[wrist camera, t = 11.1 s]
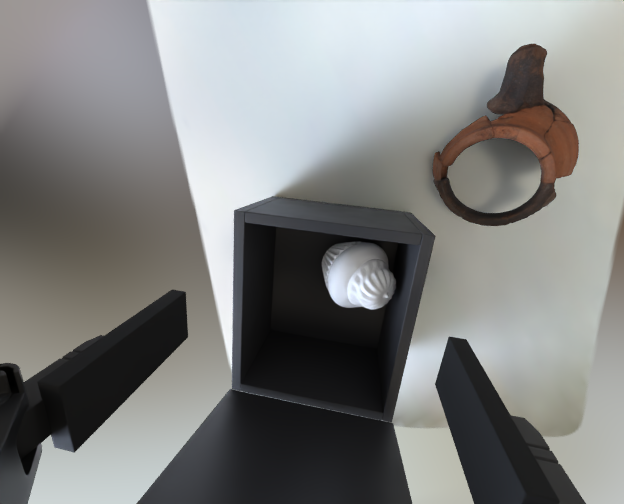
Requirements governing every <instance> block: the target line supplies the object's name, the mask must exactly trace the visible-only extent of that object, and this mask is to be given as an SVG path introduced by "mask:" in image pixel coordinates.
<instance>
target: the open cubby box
mask: <svg viewBox="0 0 624 504" xmlns="http://www.w3.org/2000/svg"><path fill="white" fill-rule="evenodd" d="M434 240H435V235H434V234H433V233H432V232H431V231H430V230H429V229H427V228H426V227H425V226H424V225H423V224H422V223H421V222H420V221H419V220H418V219H417V218H416V217H415V216H414V215H413V214H412V213H408V212H400V211H391V210H383V209H375V208H366V207H358V206H349V205H341V204H332V203H324V202H315V201H307V200H299V199H290V198H282V197H270V198H267V199H264V200H262V201H259V202H256V203H253V204H251V205H248V206H245V207H242V208H239V209H237V210H234V268H233V346H232V389H234V390H238V391H243V392H248V393H252V394H257V395H262V396H267V397H272V398H276V399H281V400H286V401H291V402H296V403H300V404H305V405H310V406H315V407H320V408H324V409H329V410H334V411H339V412H344V413H348V414H353V415H358V416H363V417H368V418H372V419H377V420H383V421H387V422H392V419H393V415H394V411H395V406H396V402H397V398H398V393H399V389H400V385H401V381H402V376H403V372H404V368H405V364H406V359H407V355H408V351H409V346H410V342H411V338H412V334H413V329H414V325H415V321H416V317H417V312H418V308H419V304H420V299H421V295H422V291H423V287H424V282H425V278H426V274H427V269H428V265H429V261H430V257H431V252H432V248H433V244H434ZM359 241H361V242H365V243H373V244H376V245H378V246H379V247H381V248H382V249H383V250H384V252H385V253H386V255H387V258H388V267H389V270H390V272H392V273H393V276H394V278H395V279H396V284H395V285H396V289H395V290H394V292H395V293H394V294H393V295H392V299H390V300H389V302H388V303H387V304H385V305H384V306H383V307H381V308H378V309H368V308H365V307H354V308H346V307H342V306H340V305H338V304H337V303H335V302H334V300H333V299H332V298H331V296H330V294H329V291H328V288H326V283H325V279H324V274H323V270H322V259H323V256H324V255H325V253H326V251H327V250H329V248H330V247H332V246H334V245H335V244H338V243H347V242H359Z"/></svg>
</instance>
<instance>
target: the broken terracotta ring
mask: <svg viewBox="0 0 624 504" xmlns="http://www.w3.org/2000/svg"><path fill="white" fill-rule="evenodd" d="M546 55H547V51H546V49H544V48H542V47H541V46H539V45H536V44H528V45H524V46H521V47H520V48H519V49H518V50H516V51H515V52H514V53H513V54H512V55H511V56H510V58H509V60H508V63H507V67H506V72H505V76H504V79H503V82H502V86H501V89H500V92H499V93H498V94H497V95H496V96H495V97H494V98H492V99H491V100H490V101H489V102H488V103H487V107H488V109H489V110H490V111H491V112H493V113H495V114H504V115H502V116H500V117H499V118H497V119H495V120H493V121H490V120H489V119H488V117H487V116H483V117H481V118H479V119H478V120H476V121H475V122H473V123H471V124H470V125H469V126H468V127H466V128H464V129H463V130H462V131H460V132H459V133H458V134H457V135H456V136H455V137H454V138H453V139H452V140H451V141H450V142H449V143H448V144H447V145H446V146H445V148H444V149H443V151H442V153H441V155H440V152H439V151H438V152H436V153H435V154H434V159H433V176H434V184H435V186H436V188H437V190H438V191H439V194H440V196H441V198H442V199H443V201H444V203H445V205H446V206H447V207H448V208H449V209H450V210H451V211H452V212H453V213H454V214H456V215H457V216H460V217H462V218H463V219H464V220H467V221H469V222H471V223H475V224H479V225H485V226H499V225H507V224H509V223H514V222H516V221H519V220H521V219H524V218H527V217H528V216H530V215H532V214H534V213H535V212H537V211H539V210H540V209H541V208H542V207H545V206H547V205H548V204H549V203H550V202H551V201H553V200H554V199H555V197H556V192H555V189H554V182H555V180H556V178H561V177H565V176H569V175H571V174H572V172H573V169H574V167H575V165H576V162H577V159H578V151H579V146H578V145H579V141H578V136H577V132H576V129H575V127H574V125H573V124H571V122H570V120H569V119H568V118H567V116H566V115H565V114H564V113H563V112H562V111H561V110H560V109H559V108H557V107H556V106H554V105H553V104H551V103H549V102H547V101H546V100H544V99H543V82H544V75H543V67H544V62H545V58H546ZM492 138H505V139H510V140H514V141H517V142H519V143H521V144H523V145H525V146H527V147H528V148H529V149H531V150H532V151H533V152H534V154H535V155H536V157H537V158H538V160H539V163H540V166H541V183H540V185H539V188H538V190H537V191H536V193H535V194H534V195H533V196H532V198H531V199H529V200H528V201H527V202H526V203H525V204H523V205H521V206H520V207H518V208H516V209H513V210H511V211H507V212H503V213H483V212H479V211H475V210H473V209H471V208H469V207H467V206H465V205H464V204H463V203H462V202H460V201H459V200H458V199H457V198H456V196H455V195H454V193H453V191H452V189H451V186H450V182H449V179H448V178H447V170H448V166H451V165H452V164H453V163H454V161H455V160H456V158H457V157H458V156H459V155H460V154H461V153H462V152H463V151H464V150H465V149H466V148H468V147H470V146H472V145H473V144H475V143H478V142H480V141H484V140H488V139H492Z"/></svg>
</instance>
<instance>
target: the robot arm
mask: <svg viewBox="0 0 624 504" xmlns="http://www.w3.org/2000/svg"><path fill="white" fill-rule="evenodd" d="M187 337H188V330H187V311H186V292H183V291H176V290H171V291H169V292H168V293H166V294H165V295H163V296H162V297H161V298H159V299H158V300H156V301H155V302H153V303H152V304H150V305H149V306H147V307H146V308H144V309H143V310H142V311H140V312H139V313H137V314H136V315H135V316H133V317H131V318H130V319H128V320H127V321H125V322H124V323H122V324H121V325H119V326H118V327H117V328H115V329H114V330H112V331H111V332H109V333H108V334H107V335H105V336H102V335H100V336H98V337H96V338H93V339H91V340H89V341H86V342H84V343H83V344H81V345H80V346H78V347H77V348H75V349H74V350H73V351H72V352H69V353H68V354H66V355H65V356H63V358H62V359H59V360H57V361H56V362H54V363H53V364H51V365H49V366H48V367H46V368H45V369H44V370H42V371H40V372H39V373H37V374H36V375H34V376H33V377H31V378H30V379H28V380H27V381H25V382H23V379H22V375H21V372H20V368H19V367H18V366H17V365H16V364H11V363H4V364H0V504H28V500H29V497H30V493H31V489H32V486H33V482H34V478H35V474H36V471H37V468H38V464H39V460H40V457H41V453H42V445H41V442H43V441H44V440H45V439H46V438H47V437H48V436H49V435H51V436H52V440H53V443H54V447H56V448H60V449H63V450H67V451H71V452H75V451H76V450H77V449H78V448H79V447H80V446H81V445H82V444H83V443H84V442H85V441H86V440H87V439H88V438H89V437H90V436H91V435H92V434H93V433H94V432H95V431H96V430H97V429H98V428H99V427H100V426H101V425H102V424H103V423H104V422H105V421H106V420H107V419H108V418H109V417H110V416H111V415H112V414H113V413H114V412H115V411H116V410H117V409H118V407H119V406H120V405H122V404H123V403H124V402H125V400H127V398H128V397H129V396H130V395H131V394H132V393H133V392H134V391H135V390H136V389H137V388H138V387H139V386H140V385H141V384H142V383H143V382H144V381H145V380H146V379H147V378H148V377H149V376H150V375H151V374H152V373H153V372H154V371H155V370H156V369H157V368H158V367H159V366H160V365H161V364H162V363H163V362H164V361H165V360H166V359H167V358H168V357H169V356H170V355H171V354H172V353H173V352H174V351H175V350H176V349H177V348H178V347H179V346H180V345H181V344H182V342H183V341H184V340H186V338H187ZM435 385H436V388H437V391H438V394H439V397H440V400H441V403H442V406H443V409H444V413H445V416H446V419H447V422H448V425H449V428H450V431H451V434H452V437H453V440H454V443H455V446H456V449H457V452H458V455H459V459H460V462H461V465H462V468H463V471H464V474H465V477H466V480H467V483H468V486H469V489H470V492H471V495H472V498H473V501H474V504H586V503H585V502H584V500H583V499H582V497H581V496H580V494H579V492H578V491H577V489H576V488H575V487H574V485H573V484H572V482H571V480H570V479H569V477H568V476H567V474H566V473H565V471H564V469H563V468H562V466H561V465H560V464H558V460H557V459H556V457H555V456H554V454H553V453H552V451H550V450H549V446H548V445H547V444H546V442H545V440H544V439H543V437H542V436H541V434H540V433H539V432H538V431H537V430H536V429H535V428H534V427H533V426H532V425H531V424H530V423H529V422H528V421H527V420H526V419H525V418H521V417H516V416H511V415H510V414H509V412H508V410H507V409H506V407H505V405H504V403H503V402H502V400H501V398H500V397H499V395H498V393H497V391H496V390H495V388H494V386H493V385H492V383H491V381H490V379H489V378H488V376H487V374H486V372H485V371H484V369H483V367H482V366H481V364H480V362H479V360H478V359H477V357H476V355H475V354H474V352H473V350H472V348H471V347H470V345H469V343H468V341H467V340H466V339H460V338H454V337H449V338H448V342H447V345H446V349H445V352H444V356H443V359H442V362H441V366H440V369H439V373H438V376H437V380H436V383H435Z"/></svg>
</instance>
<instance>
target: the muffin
mask: <svg viewBox="0 0 624 504" xmlns="http://www.w3.org/2000/svg"><path fill="white" fill-rule="evenodd" d="M322 270H323V274H324V279H325V283H326V288H328V291H329V294H330V296H331V298H332V299H333V300H334V302H335V303H337V304H338V305H340V306H342V307H346V308H354V307H365V308H368V309H378V308H381V307H383V306H384V305H385V304H387V303H388V302H389V300H390V299H392V295H393V294H394V293H395V292H394V290H395V289H396V285H395V284H396V279H395V278H394V276H393V273H392V272H390V270H389V267H388V258H387V255H386V253H385V252H384V250H383V249H382V248H381V247H379V246H378V245H376V244H373V243H365V242H361V241H359V242H347V243H338V244H335V245H334V246H332V247H330V248H329V250H327V251H326V253H325V255H324V256H323V259H322Z"/></svg>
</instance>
